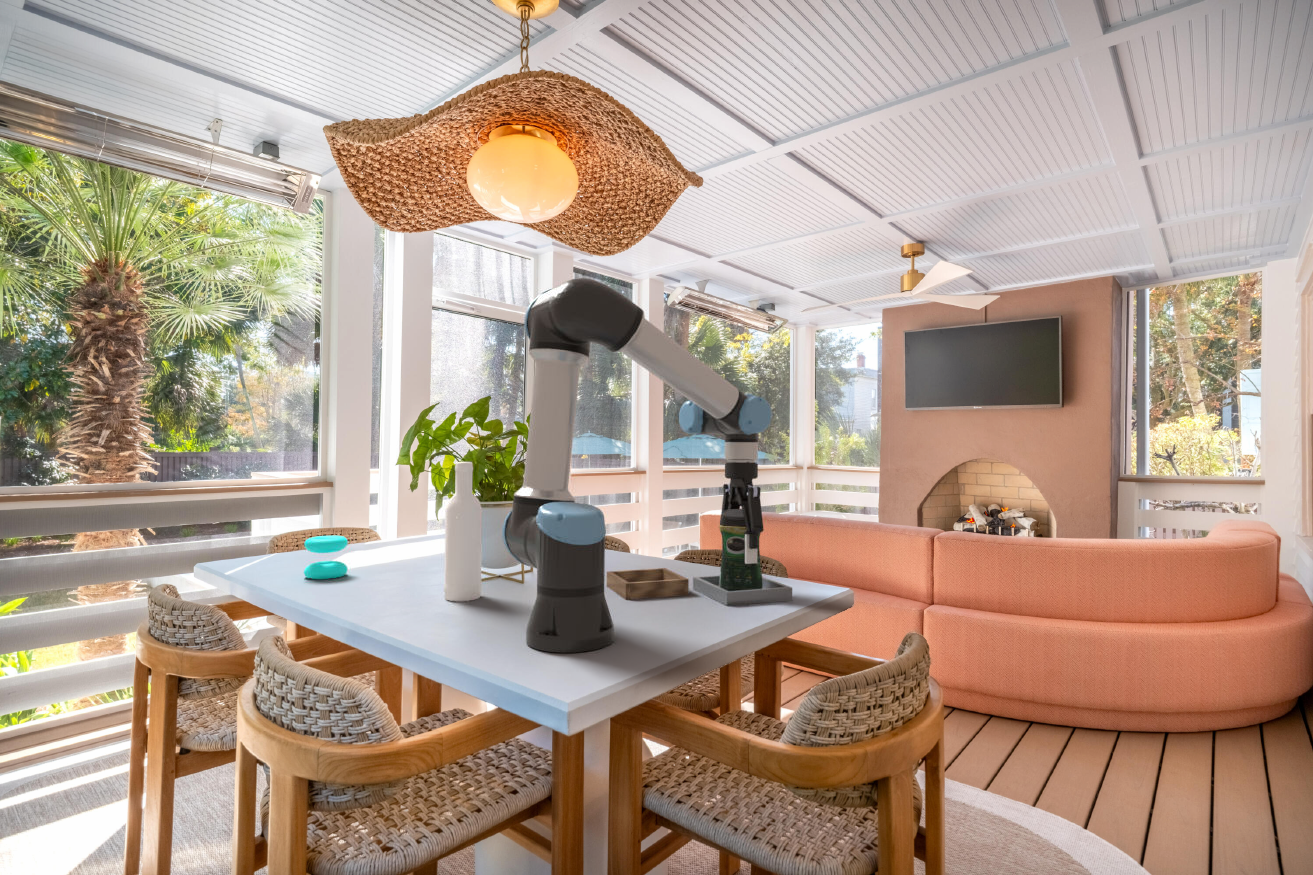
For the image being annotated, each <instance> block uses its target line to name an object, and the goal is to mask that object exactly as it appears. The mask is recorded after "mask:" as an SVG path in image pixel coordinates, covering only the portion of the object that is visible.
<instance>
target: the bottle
mask: <svg viewBox="0 0 1313 875" xmlns="http://www.w3.org/2000/svg"><path fill="white" fill-rule="evenodd" d="M473 465H474V464H473V462H472V461H456V462H455V466H454V471H455V478H454V479H455V484H454V486H455V487H454V489H455V490H454V491H455V493H454V494H453V496H452V497H450V498H449V499H448V501H447V504H446V505H445V506H446V507H445V510H444V516H445V517H444V519H445V520H444V521H445V522H444V523H445V524H444V584H443V592H444V595H443V596H444V599H445V600H446V601H448V600H449V602H468V601H469V602H470V600H471V601H474V600H478V599H480V597H482V587H483V584H482V530H483V529H482V527H483V524H482V522H483V521H482V520H483V516H482V515H483V512H482V510H483V509H482V506H481V502H480V500H479V498H478V497H477V496H475V494H474V493H473V471H474V466H473ZM456 517H457V518H456Z"/></svg>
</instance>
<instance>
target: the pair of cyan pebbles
mask: <svg viewBox="0 0 1313 875" xmlns="http://www.w3.org/2000/svg"><path fill="white" fill-rule="evenodd" d="M348 543H349V541H348V539H347V537H345V536H342V535H319V536H313V537H309V538H307V539H305V541H304V548H305V549H306V550H307V551H308V552H311V553H315V554H329V553H337V552H340V551H342V550H344V549H345V548H346V547H347V546H348ZM347 573H348V566H347V564H345V563H344V562H342V561H337V560H322V561H317V562H313V563H310V564H309V565H307V566H306V567H305V568H304V569H303V574H304V576H305V578H307V579H309V578H312V579H311V580H330V579H329V578H333V579H337V577H338V578H341V577H343V576H345V575H346V574H347Z"/></svg>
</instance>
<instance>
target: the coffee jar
mask: <svg viewBox="0 0 1313 875" xmlns="http://www.w3.org/2000/svg"><path fill="white" fill-rule="evenodd" d="M721 512H722V513H721ZM721 512H720V520H719V526H718V527H719V531H720V533H721V534H720V535H721V547H722V548H721V560H720V562H721V563H720V569H719V570H720V572H719V575H720V587H721V588H723V589H725V590H727V591H740V590H753V589H762V587H763V584H762V577H763V573H762V563H761V553H760V536H761V534H762V532H759V534H758V535H757V563H752V564H746V563H745V533H744V532H746V531H747V529H746V524H745V519H744V516H743V511H742V508H740V509H730V510H725V511H722V510H721ZM758 527H759V526H758Z"/></svg>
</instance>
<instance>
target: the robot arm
mask: <svg viewBox="0 0 1313 875" xmlns="http://www.w3.org/2000/svg"><path fill="white" fill-rule="evenodd" d="M523 320H524V322H523V323H524V330H525V334H526V336H527V338H528V339H529V347H528V348H529V349H528V355H530V357H531V359H532V360H534V363H535V367H534V368H535V369H534V377H533V378H534V379H533V388H532V395H531V396H532V397H531V407H530V416H529V423H528V424H529V425H528V436H527V444H526V452H525V462H524V463H525V465H524V473H523V483H522V486H521V487H520V488H519V489H518V490H517V491H516V492H514V493H513V501H512V508H511V509H512V510H511V511H510V512H509V513H508V514H507V515H506V517H505V518H504V521H503V524H502V530H501V535H502V542H503V545H504V547H505V549H506V551H507V552H508V554H510V556H512V557H513V558H514V559H515V560H516V561H518V562H519V563H520V564H522V565H525V566H527V567H530V568H534V569H536V573H537V574H536V583H537V584H536V599H535V601H534V604H533V607H532V611H531V613H530V617H529V619H528V622H527V626H526V632H525V635H526V636H525V640H526V641H525V643H526V644H527V645H528V646H529V647H531V648H533V649H535V650H540V651H543V652H552V653H582V652H591V651H595V650H598V649H601V648H604V647H605V648H606V647H607V646H610V645H611V644H612V643H613V642H614V640H615V625H614V623H613V619H612V615H611V611H610V609H609V605H608V602H607V598H606V596H605V576H606V575H605V573H606V572H605V570H606V568H605V566H606V565H605V564H606V563H605V562H606V560H605V559H606V558H605V557H606V556H605V555H606V548H605V547H606V535H607V533H606V532H607V530H606V525H605V522H606V520H605V515H604V512H603V511H602V510H601V509H600V508H599V507H596V506H595V505H592V504H588V503H579V502H576V501H575V500H576V498H575V497H574V496H573V495H572V493H571V492H570V491H569V482H570V473H571V472H570V470H571V462H572V452H573V451H572V450H573V442H574V440H573V439H574V433H575V431H574V430H575V424H576V423H575V420H576V411H577V402H578V390H579V383H580V382H579V381H580V373H581V368H582V366H584V365H585V364H586V363H587V362H588V361H589V359H590V350H591V349H590V348H591V343H594V344H596V345H599V346H602V347H604V348H605V349H606V350H608V351H610V352H611V353H613V354H617V353H622V354H624V355H625V356H626V357H628V358H629V359H631V361H633V362H635V363H636V364H638V365H639V366H640V367H642V368H644V369H645V370H646V371H647V372H649V373H651V374H652V375H653V376H655V377H656V378H658V379H659V380H660V381H662V382H663V383H665V384H666V385H667V386H669V387H670V388H672V389H673V390H675V391H676V392H678V393H679V394H680V395H681V396H683V397H685V398H686V399H687V401H685V402H684V403H683V404H682V406H680V410H679V413H678V416H679V417H678V422H679V426H680V428H681V430H682V431H683V432H684V433H685V434H687V435H695V436H701V435H703V436H717V435H718V436H721V435H722V436H724V459H725V460H726V462H725V463H724V477H725V478H726V479H730V481H729V483H724V484H723V489H722V490H723V491H722V492H723V494H722V495H723V496H722V497H723V498H722V504H721V512H720V514H721V513H722V511H725V510H730V509H742V511H743V516H744V519H745V524H746V529H747V531H746V532H744V533H745V563H746V564H752V563H757V535H758V534H759V532H761V533H763V532H764V529H765V528H764V521H763V513H762V512H763V511H762V504H761V503H762V502H761V487H760V486H754V483H753V480H755V479H757V478H758V477H759V475H758V474H759V463H758V462H756V461H757V460H758V456H759V454H758V453H759V452H758V451H759V447H758V446H759V434H760V433H763V432H765V431H766V430H768V428H769V426H770V425H771V422H772V419H773V418H772V417H773V412H772V411H773V410H772V407H771V405H770V403H769V401H767V400H766V398H764V397H762V396H758V395H755V394H753V393H744V392H743V391H741V390H739V388H737V387H736V386H734V385H733V384H732V383H731V382H729V381H728V380H727V379H725V378H724V377H723V376H722V375H720V374H718V373H717V372H716V371H715V370H713V369H712V368H711V367H709V366H708V365H707V364H706V363H704V362H703V361H702V360H700V359H699V358H698V357H696V356H695V355H693V353H691V352H690V351H688V350H687V349H686V348H684V346H682V345H680V344H679V343H678V342H676V341H675V340H674V339H672V338H671V337H670V336H668V335H667V334H666V333H665V332H663V331H662V330H661V329H659V328H658V327H657V326H655V325H654V324H652V322H650V321H649V320H647V319H646V316H645V312H644V310H643V309H642V308H641V307H640V306H638V305H637V304H636V303H635V302H633V301H632V300H631V299H629V298H628V297H626V296H625V295H623V294H622V293H620V292H619V291H617V290H616V289H614V288H612V287H610V286H609V285H607V284H605V283H602V282H601V281H597V280H595V279H591V278H588V277H587V278H584V277H579V278H578V277H577V278H573V279H569V280H567V281H565V282H563V283H561V284H560V285H558V286H556V287H554V288H550V289H548V290H545V291H543V292H541V293H540V294H538V296H536V298H534V299H533V300H532V301H531V303H529V306H528V307H527V309H526V312H525V314H524V319H523ZM758 526H759V527H758Z"/></svg>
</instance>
